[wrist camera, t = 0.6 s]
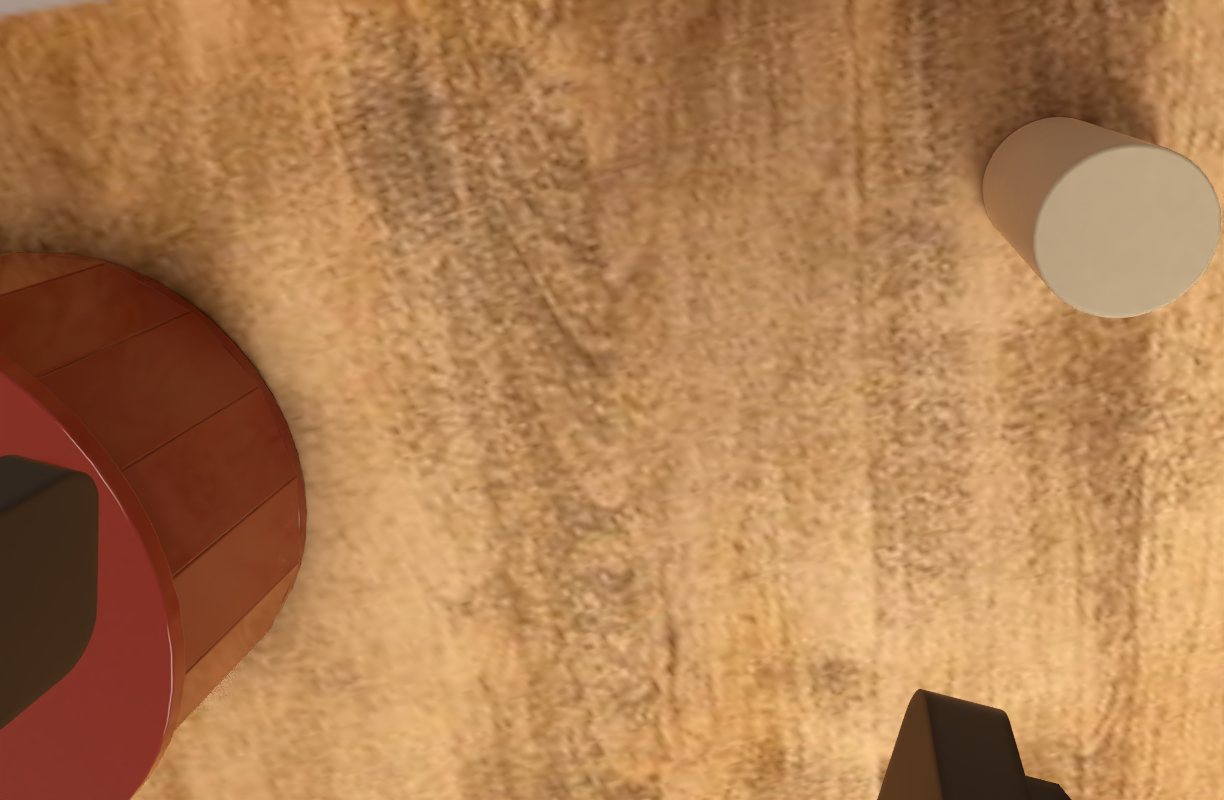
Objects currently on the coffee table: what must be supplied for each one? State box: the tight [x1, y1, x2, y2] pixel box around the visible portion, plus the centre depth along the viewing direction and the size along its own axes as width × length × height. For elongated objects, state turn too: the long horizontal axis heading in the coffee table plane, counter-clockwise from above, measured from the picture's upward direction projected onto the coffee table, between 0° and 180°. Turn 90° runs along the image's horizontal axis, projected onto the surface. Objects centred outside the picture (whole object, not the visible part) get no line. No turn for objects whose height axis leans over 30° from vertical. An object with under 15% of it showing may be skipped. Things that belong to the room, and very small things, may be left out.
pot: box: [0, 252, 307, 731], centre depth 31 cm, size 15×15×8 cm
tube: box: [982, 117, 1221, 318], centre depth 23 cm, size 3×3×7 cm
